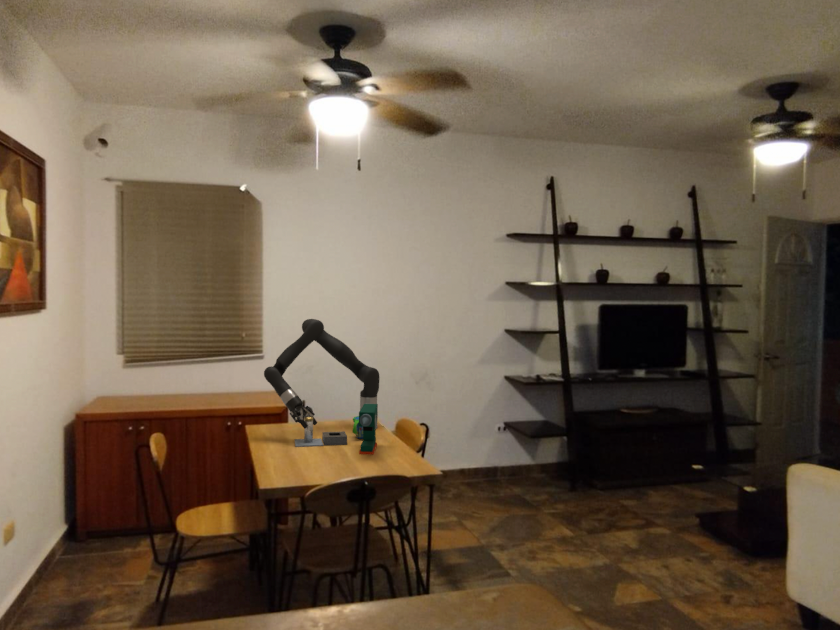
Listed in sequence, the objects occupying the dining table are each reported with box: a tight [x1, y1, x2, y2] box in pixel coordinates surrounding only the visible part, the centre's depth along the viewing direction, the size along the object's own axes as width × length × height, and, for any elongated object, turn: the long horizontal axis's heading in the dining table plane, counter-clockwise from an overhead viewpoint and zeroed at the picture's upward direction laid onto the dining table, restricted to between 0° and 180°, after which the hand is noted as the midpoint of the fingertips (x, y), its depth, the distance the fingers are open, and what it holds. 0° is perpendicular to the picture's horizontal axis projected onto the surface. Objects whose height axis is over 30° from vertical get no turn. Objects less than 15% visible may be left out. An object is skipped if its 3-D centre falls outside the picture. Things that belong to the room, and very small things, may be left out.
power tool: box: [358, 403, 379, 455], centre depth 286 cm, size 32×7×20 cm, turn 179°
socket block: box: [321, 431, 348, 446], centre depth 304 cm, size 11×11×4 cm
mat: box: [294, 437, 324, 448], centre depth 302 cm, size 13×13×1 cm
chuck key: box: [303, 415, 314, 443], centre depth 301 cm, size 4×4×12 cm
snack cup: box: [352, 415, 363, 440], centre depth 316 cm, size 16×10×10 cm
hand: (311, 425), depth 301 cm, fingers open, 8 cm apart
